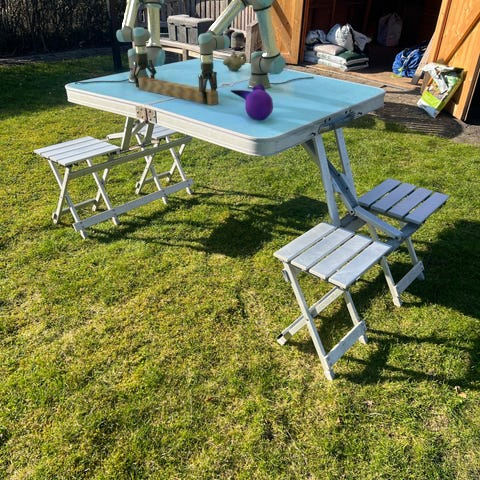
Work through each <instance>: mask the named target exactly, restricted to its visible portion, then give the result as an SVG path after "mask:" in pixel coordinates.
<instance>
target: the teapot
mask: <svg viewBox="0 0 480 480" xmlns="http://www.w3.org/2000/svg"><path fill="white" fill-rule="evenodd" d="M241 59H242V60H241ZM246 63H247V55H246V53H244V52H242V53H240V54H237V53H236V51H232V52H231V55H230V57H226V58H224V59H223V61H222V65H224V66H225V67H227V69H228V71H229V72H237V71H239V70H240V69H241V68H242V67H243V66H244V65H246Z"/></svg>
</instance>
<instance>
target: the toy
mask: <svg viewBox="0 0 480 480" xmlns="http://www.w3.org/2000/svg"><path fill="white" fill-rule="evenodd" d="M230 92H231V93H232V94H234V95H235V96H238V97H240V98H242V99H243V100H245V102H244V103H245V104H244V108H245V112H246V114H247V116H248V117H249V118H250V119H252V120H254V121H265V120H266V119H268V118H269V117H270V116H271V114H272V113H273V111H274V102H273V98H272V96H271V95H270V94H269V92H267V91H266V89H265V88H264V86H263V85H257V86H254V87H253V89H252V90H243V89H231V90H230Z"/></svg>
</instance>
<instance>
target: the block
mask: <svg viewBox="0 0 480 480" xmlns="http://www.w3.org/2000/svg"><path fill="white" fill-rule="evenodd" d="M138 81H139V88H137V90H140V91H145V92H150V93H154V94H159V95H164V96H167V97H171V98H177V99H181V100H186V101H190V102H196V103H199V104H204V105H209V106H214V105H217V104H219V91H218V90H217V89H216V90H211V88H206V91H205V92H206V93H207V104H205V103H203V98H202V92H199V86H195V85H189V84H184V83H180V82H179V83H178V82H173V81H168V80H163V79H158V78H155V79H153V78H151V77H149V78H148V77H139V78H138Z"/></svg>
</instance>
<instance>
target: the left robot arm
mask: <svg viewBox="0 0 480 480" xmlns="http://www.w3.org/2000/svg"><path fill="white" fill-rule="evenodd" d="M164 2H165V0H126V8H125V12H124V16H123V17H124V18H123V21H122V26H121V29H118V30H117V31H116V38H117V41H118V42H120V43H122V42H123V43H134V48H130V49H128V50H127V57H128V66H129V76H128V78H127V79H123V80H91V81H75V82H74V83H75V84H74V85H76V84H91V83H122V82H127V81H128V82H129V83H133V84H135V88H137V89H138V88H139V81H138V78H139V77H148V78H153V79H156V77H155V76H156V74H157V70H156V68H155V67H163V65H165V61H166V51H165V49H164V48H163V46H162V44H161V21H160V9H161V8H162V5H163V4H164ZM141 5H144V7H145V8H146V10H147V11H146V12H147V13H146V14H147V15H146V16H147V28H144V27H135V23H136V19H137V15H138V10H139V8H140V7H141ZM147 70H148V71H147ZM148 72H149V73H150V76H149V74H148Z"/></svg>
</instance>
